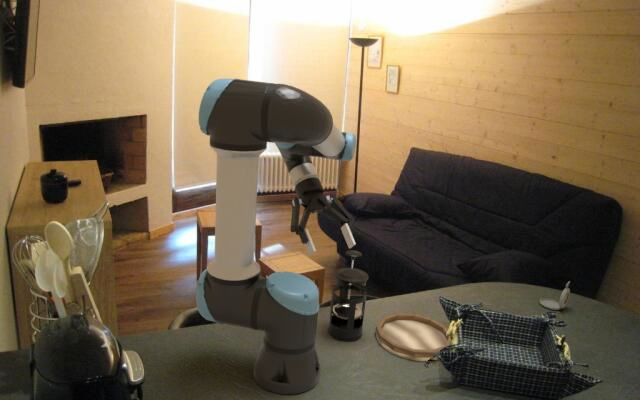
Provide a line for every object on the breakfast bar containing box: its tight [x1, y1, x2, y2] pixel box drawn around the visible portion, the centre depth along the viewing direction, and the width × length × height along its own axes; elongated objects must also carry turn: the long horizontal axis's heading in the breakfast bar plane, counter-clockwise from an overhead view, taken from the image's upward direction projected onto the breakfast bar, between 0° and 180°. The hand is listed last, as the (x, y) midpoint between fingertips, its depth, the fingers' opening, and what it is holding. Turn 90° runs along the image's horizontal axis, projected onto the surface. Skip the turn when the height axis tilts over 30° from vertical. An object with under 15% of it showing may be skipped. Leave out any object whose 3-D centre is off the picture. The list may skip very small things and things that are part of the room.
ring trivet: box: [375, 312, 451, 362], centre depth 140 cm, size 20×20×2 cm
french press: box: [327, 250, 370, 343], centre depth 138 cm, size 12×9×23 cm
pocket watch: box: [539, 280, 571, 311], centre depth 166 cm, size 8×8×10 cm
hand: (333, 250), depth 143 cm, fingers open, 13 cm apart
